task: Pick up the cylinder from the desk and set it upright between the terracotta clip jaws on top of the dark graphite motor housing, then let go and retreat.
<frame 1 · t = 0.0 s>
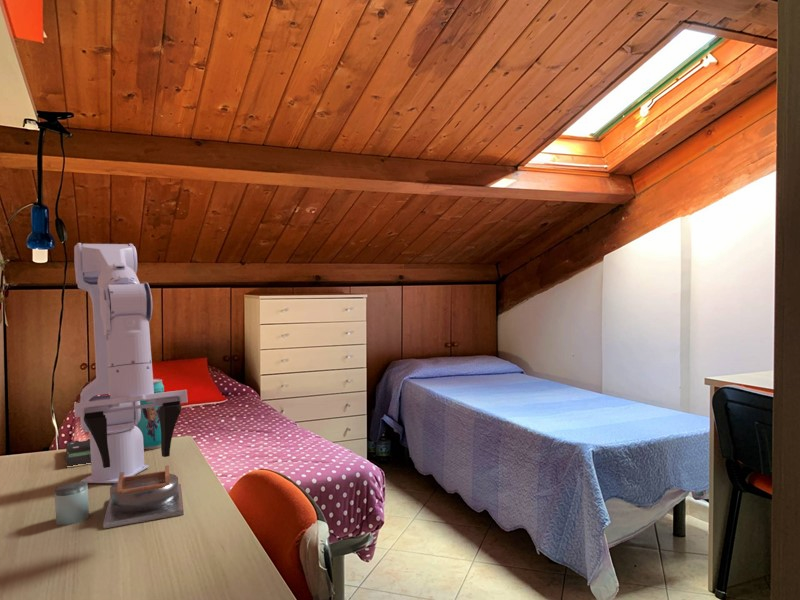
hand: (137, 461, 79), 11 cm above the table, tool pointing down, fingers open, 7 cm apart
cylinder: (72, 518, 87), on the table
motor: (145, 506, 90), on the table
beverage can: (152, 447, 126), on the table
disk drive: (93, 458, 122), on the table
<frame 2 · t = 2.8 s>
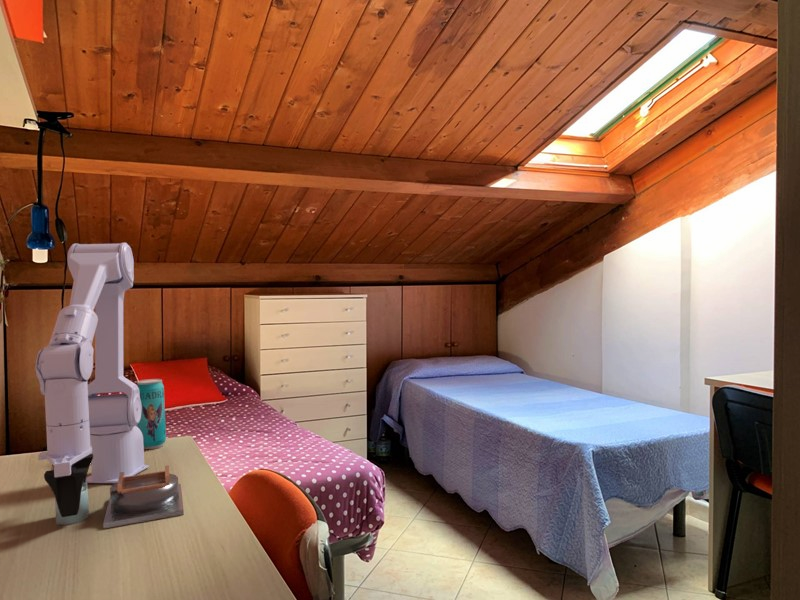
hand: (72, 509, 87), 1 cm above the table, tool pointing down, fingers closed on cylinder, 4 cm apart
cylinder: (72, 518, 87), on the table, touching gripper
everything else where it was.
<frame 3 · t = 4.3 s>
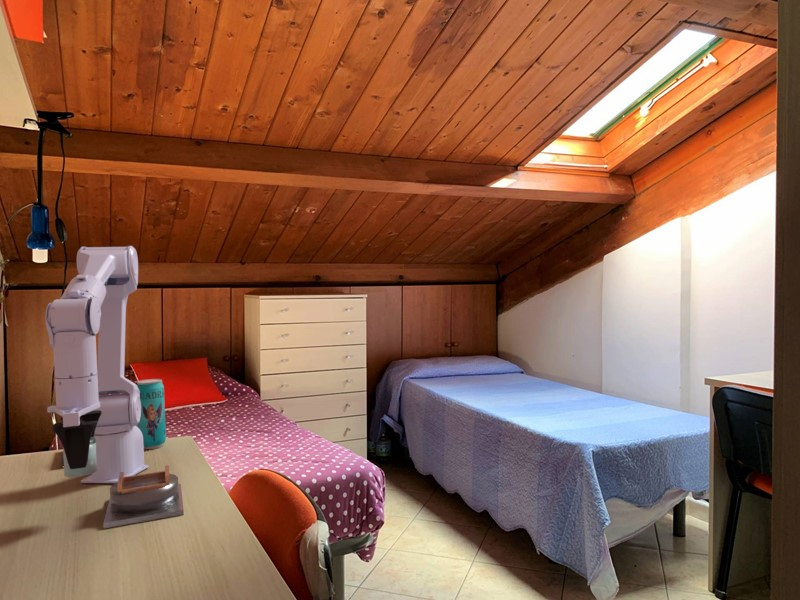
hand: (80, 463, 87), 8 cm above the table, tool pointing down, fingers closed on cylinder, 4 cm apart
cylinder: (80, 472, 87), point 7 cm above the table, touching gripper
everything else where it was.
when the fingers open (6 cm above the table, at t = 5.9 s): cylinder stays where it is, resting on motor.
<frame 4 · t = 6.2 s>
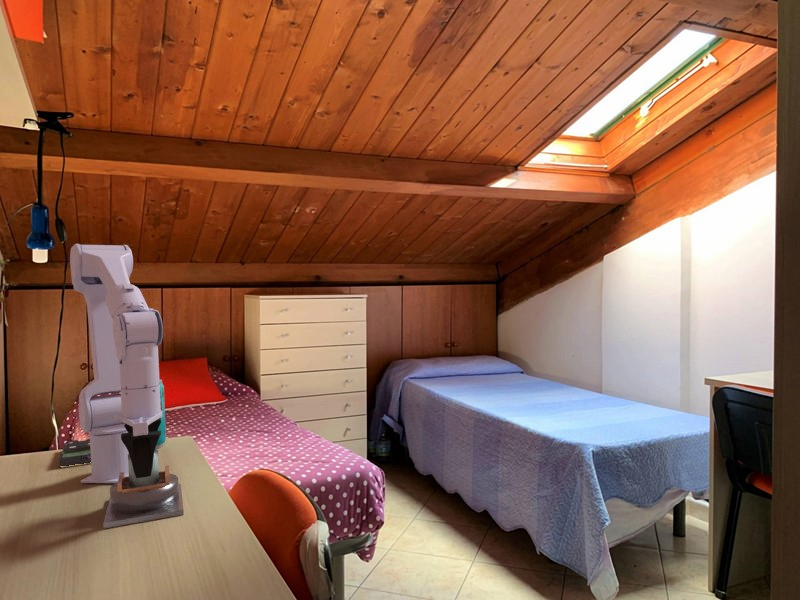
hand: (144, 470, 90), 6 cm above the table, tool pointing down, fingers open, 6 cm apart
cylinder: (144, 483, 90), point 4 cm above the table, touching motor
everything else where it was.
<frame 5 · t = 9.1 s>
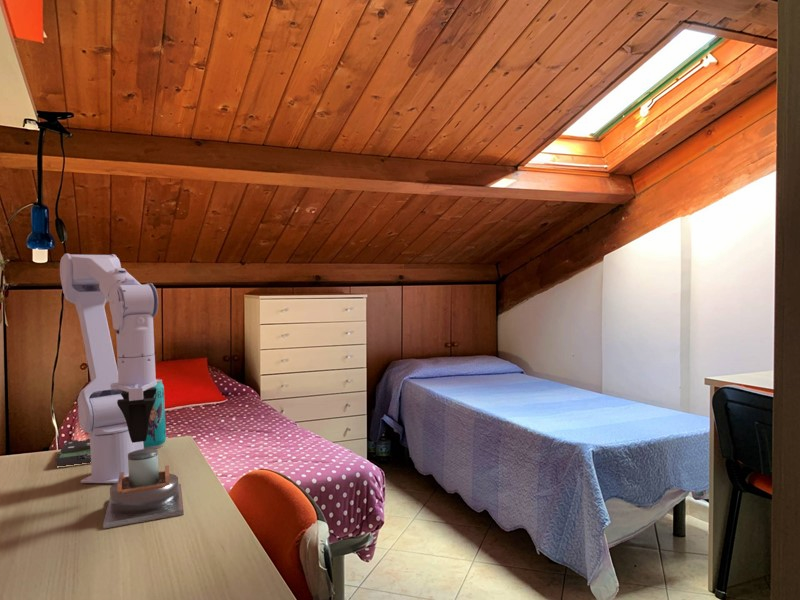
hand: (139, 436, 95), 10 cm above the table, tool pointing down, fingers open, 7 cm apart
at the end: cylinder 0.1 cm off-centre on the motor, point 3.8 cm above the motor's base; cylinder tilted 0°; the gripper is holding nothing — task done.
